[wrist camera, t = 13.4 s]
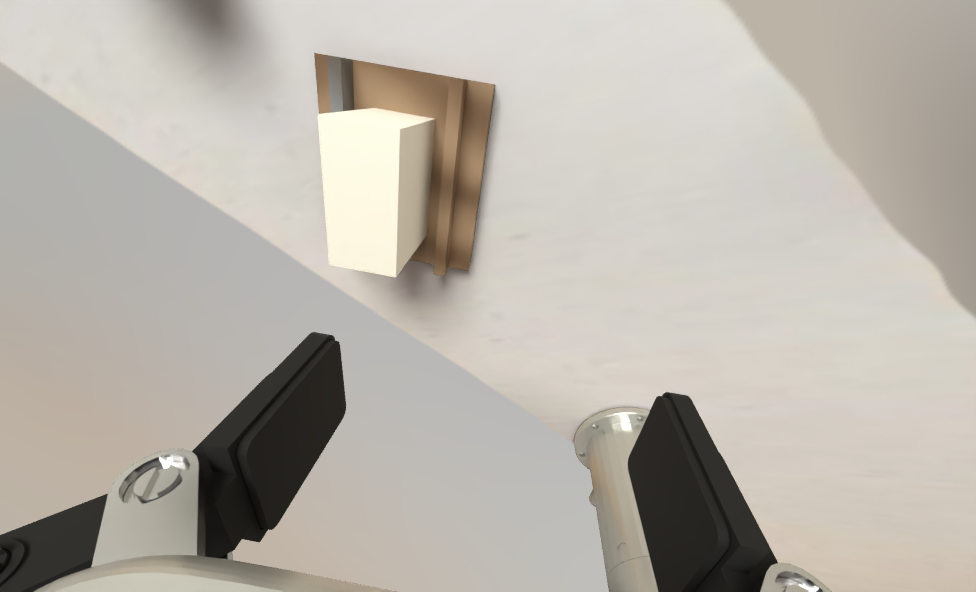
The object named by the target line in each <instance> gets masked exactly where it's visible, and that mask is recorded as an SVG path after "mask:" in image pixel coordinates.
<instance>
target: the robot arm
mask: <svg viewBox="0 0 976 592" xmlns="http://www.w3.org/2000/svg"><path fill="white" fill-rule="evenodd" d="M345 410H346V401H345V391H344V381H343V371H342V361H341V351H340V344H339V342H338V341H335V338H334V337H333V336H332V335H327V334H321V333H316V332H313V333H311V334H309V335H308V336H307V337H306V339H305V340H303V341H302V342H301V344H299V346H298V347H297V348H295V350H294V351H293V352H292V353H291V354H290V355H289V356H288V357H287V358H286V359H285V360H284V361H283V362H282V363H281V364H280V365H279V366H278V367H277V368H276V369H275V370H274V371H273V372H272V373H270V374H269V375H268V376H266V377H265V378H264V379H263V380H262V381H261V382H260V383H259V384H258V385H257V386H256V387H255V389H254V390H252V391H251V392H250V393H249V394H248V396H247V397H245V399H243V400H242V401H241V402H240V404H239V405H238V406H237V407H236V408H235V409H234V410H233V411H232V412H231V413H230V414H229V415H228V416H227V417H226V418H225V419H224V420H223V421H222V422H221V423H220V424H219V425H218V426H217V427H216V428H215V429H214V430H213V431H212V432H211V433H210V434H209V435H208V436H207V437H206V438H205V439H204V440H203V441H202V442H201V443H200V444H199V445H198V446H197V447H196V448H195V449H194V450H193V451H189V450H185V449H169V450H164V451H160V452H157V453H154V454H152V455H149V456H147V457H145V458H143V459H141V460H140V461H138V462H136V463H134V464H133V465H131V466H130V467H129V468H128V469H126V470H125V471H124V472H123V473H122V474H121V475H120V476H119V477H118V478H117V479H116V481H115V482H114V483H113V484H112V486H111V489H110V491H109V493H108V494H106V495H103V496H100V497H98V498H95V499H93V500H90V501H88V502H85V503H82V504H80V505H77V506H75V507H72V508H69V509H67V510H64V511H62V512H59V513H57V514H54V515H51V516H49V517H46V518H44V519H41V520H38V521H36V522H33V523H31V524H28V525H25V526H23V527H21V528H18V529H15V530H12V531H10V532H7V533H5V534H2V535H0V592H396V591H390V590H386V589H381V588H376V587H370V586H366V585H361V584H356V583H351V582H346V581H341V580H335V579H331V578H325V577H320V576H315V575H310V574H305V573H300V572H295V571H290V570H284V569H279V568H273V567H267V566H262V565H256V564H250V563H245V562H239V561H233V555H232V551H233V550H235V548H236V546H237V545H238V544H239V542H240V541H241V539H245V540H250V541H256V542H260V541H261V540H262V538H263V536H264V535H265V533H266V532H267V530H268V529H269V530H272V529H274V528H275V527H276V525H277V524H278V523H279V521H280V520H281V518H282V516H283V515H284V513H285V511H286V510H287V508H288V507H289V505H290V503H291V502H292V500H293V498H294V497H295V495H296V494H297V492H298V490H299V488H300V487H301V485H302V484H303V482H304V480H305V479H306V477H307V476H308V474H309V472H310V471H311V469H312V468H313V466H314V464H315V463H316V461H317V459H318V458H319V456H320V454H321V453H322V451H323V450H324V448H325V447H326V445H327V443H328V442H329V440H330V438H331V437H332V435H333V433H334V432H335V430H336V429H337V427H338V425H339V424H340V422H341V420H342V419H343V417H344V414H345ZM574 445H575V451H576V455H577V457H578V459H579V460H580V461H581V463H582V464H583V465H584V466H586V467H587V468H588V469H590V471H591V477H592V484H593V491H592V493H591V494H590V497H589V500H590V502H591V504H592V505H593V506H595V507H596V510H597V516H598V523H599V529H600V536H601V542H602V549H603V555H604V561H605V568H606V575H607V582H608V588H609V592H831V590H830V589H829V588H828V587H826V586H825V585H824V584H823V583H822V582H821V581H819V580H818V579H817V578H816V577H814V576H813V575H811V574H810V573H808V572H806V571H805V570H803V569H801V568H799V567H796V566H794V565H791V564H787V563H778V562H777V560H776V558H775V556H774V554H773V552H772V550H771V549H770V547H769V545H768V543H767V541H766V539H765V537H764V535H763V533H762V531H761V530H760V528H759V526H758V524H757V522H756V520H755V518H754V516H753V514H752V512H751V510H750V509H749V507H748V505H747V503H746V501H745V499H744V497H743V495H742V493H741V491H740V490H739V488H738V486H737V484H736V482H735V480H734V478H733V476H732V474H731V472H730V470H729V469H728V467H727V465H726V463H725V461H724V459H723V457H722V456H721V454H720V453H719V452H718V450H717V448H716V446H715V444H714V442H713V440H712V439H711V437H710V435H709V433H708V431H707V429H706V427H705V425H704V423H703V421H702V419H701V417H700V416H699V414H698V412H697V410H696V408H695V406H694V404H693V402H692V400H691V399H690V397H688V396H686V395H681V394H675V393H669V392H666V393H664V394H663V396H658V397H657V398H656V399H655V402H654V404H653V406H652V408H651V410H650V411H649V410H645V409H640V408H631V407H624V408H615V409H609V410H606V411H603V412H600V413H598V414H596V415H594V416H592V417H590V418H589V419H587V420H586V421H585V422H584V423H583V424H582V425H581V426H580V427H579V429H578V430H577V432H576V435H575V439H574Z"/></svg>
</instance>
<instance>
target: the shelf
mask: <svg viewBox="0 0 976 592" xmlns="http://www.w3.org/2000/svg"><path fill="white" fill-rule="evenodd" d="M314 54H315V67H316V80H317V93H318V105H319V114H323V113H333V112H342V111H351V110H360V109H369V108H378V109H384V110H389V111H395V112H400V113H406V114H411V115H417V116H422V117H428V118H433V119H435V131H434V145H433V159H432V172H431V186H430V200H429V214H428V228H427V236H426V237H425V238H424V240H423V241H422V242H421V244H420V245H419V247H418V248H417V249H416V251H415V252H414V253H413V255H412V256H411V258H410V259H409V260H413V261H418V262H424V263H429V264H434V273H433V274H436V275H441V276H444V275H445V273H446V270H447V268H448V267H451V268H456V269H462V270H467V271H468V269H469V267H470V263H471V256H472V249H473V241H474V234H475V227H476V220H477V213H478V205H479V198H480V191H481V184H482V177H483V170H484V162H485V155H486V148H487V141H488V134H489V127H490V119H491V112H492V105H493V98H494V91H495V85H493V84H488V83H482V82H476V81H470V80H465V79H459V78H453V77H448V76H442V75H436V74H431V73H425V72H419V71H414V70H408V69H402V68H396V67H391V66H385V65H379V64H374V63H368V62H362V61H357V60H351V59H345V58H340V57H334V56H328V55H322V54H317V53H314Z"/></svg>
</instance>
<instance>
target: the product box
mask: <svg viewBox="0 0 976 592" xmlns="http://www.w3.org/2000/svg"><path fill="white" fill-rule="evenodd" d="M318 127H319V140H320V153H321V166H322V179H323V192H324V205H325V218H326V231H327V244H328V256H329V265H332V266H338V267H343V268H348V269H354V270H359V271H364V272H370V273H375V274H380V275H385V276H391V277H397V275H398V274H399V273H400V271H401V270H402V268H403V267H404V266H405V264H406V263H407V262H408V260H409V259H410V258H411V256H412V255H413V253H414V252H415V251H416V249H417V248H418V247H419V245H420V244H421V242H422V241H423V240H424V238H425V237H426V236H427V228H428V214H429V200H430V186H431V172H432V159H433V145H434V131H435V119H433V118H428V117H422V116H417V115H411V114H406V113H400V112H395V111H389V110H384V109H378V108H369V109H360V110H351V111H342V112H333V113H323V114H318Z"/></svg>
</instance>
